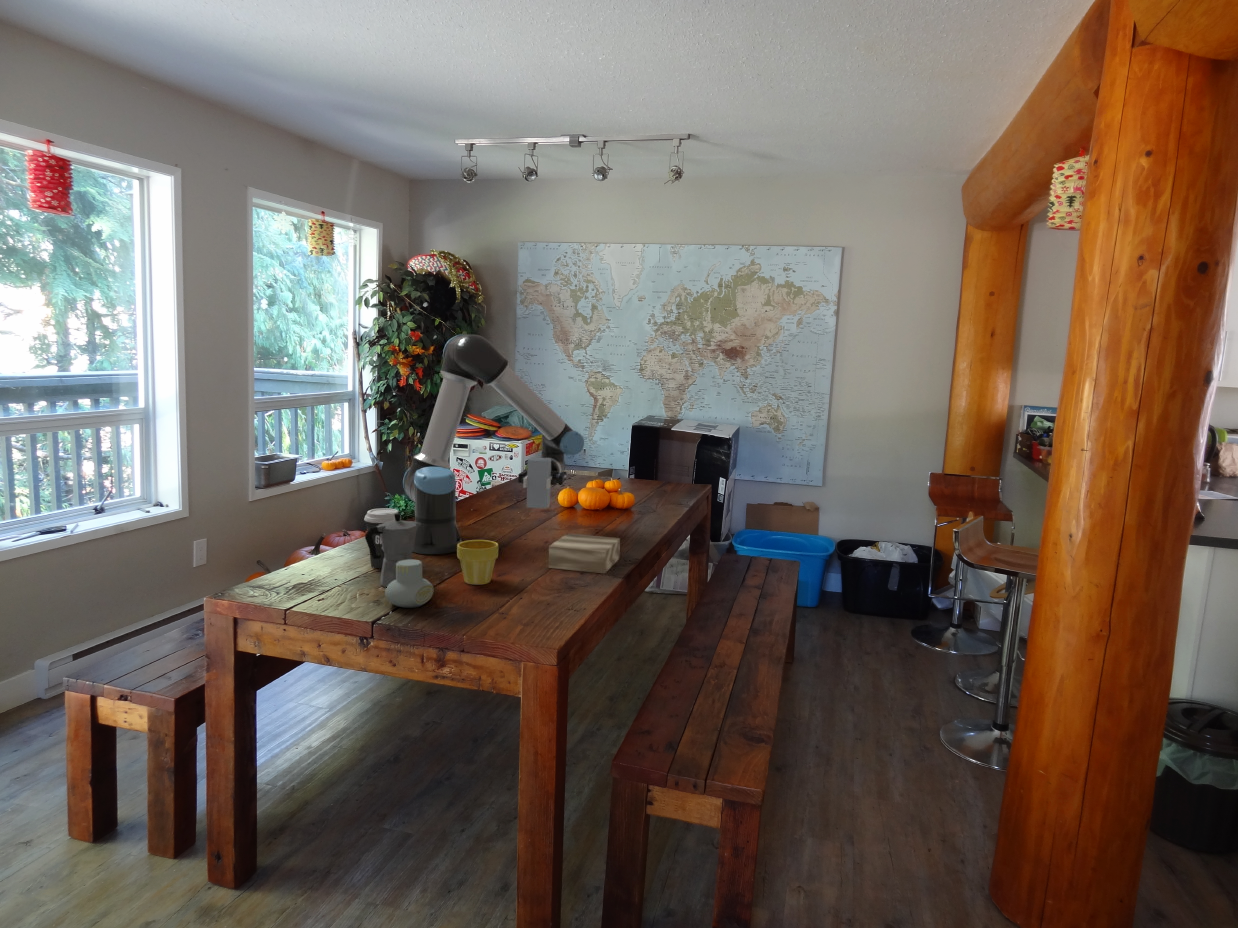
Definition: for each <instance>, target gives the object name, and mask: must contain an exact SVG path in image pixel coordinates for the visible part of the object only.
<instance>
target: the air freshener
mask: <svg viewBox="0 0 1238 928" xmlns="http://www.w3.org/2000/svg"><path fill="white" fill-rule="evenodd" d="M434 589H435V588H434V585H432V583H431V582H430V581H429V580H428V579H426V578H423V563H422V561H421V560H419V559H409V560H402V561H399V562H397V563H396V580H394V581H392V582H391V583H390V584H389V585H388V586H387V588H386V587H385V591H384V596H385V598H386V600H387V601H388V602H389V603H391V604H392V605H393V606H396V607H400V608H408V609H409V608H419V607H422V606H423V605H424V604H426V603H427V602H428V601H429V600H430V599H431V598H432V597H433V594H434Z"/></svg>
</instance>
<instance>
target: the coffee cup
mask: <svg viewBox="0 0 1238 928" xmlns="http://www.w3.org/2000/svg"><path fill="white" fill-rule="evenodd" d="M397 513H399V510H397V509H395V508H388V507H387V508H384V507H383V508H381V507H380V508H373V509H370V510H368V511H367V512H366V514H365V516H364V519H363V520H364V522H366V532H367V531H368V530H369V528H370V527H374V526H379V525H380V524H383V523H386V522H390V521H395V516H394V514H397ZM401 519H402V516H401V517H400V520H401ZM401 521H402V520H401ZM372 538H373V541H374V546H375V548H376V554H377V555H381V558H380V559H373V558H372V555H371V552H370V550H369V560H370V561H369V562H370V567H371V568H373V567H374V568H373V569H377V568H379V569H378V570H380V569H381V570H382V565H383V559H384V551H383V547H382V541H381V535H380V534H373V535H372Z"/></svg>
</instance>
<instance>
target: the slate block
mask: <svg viewBox="0 0 1238 928" xmlns="http://www.w3.org/2000/svg"><path fill="white" fill-rule="evenodd" d="M526 470H527V487H526V508H531V509H548V508H549V506H550V505H551V487H550V488H549V489H546V481H547V479H548V478H549V477H550V476H551V458H541V457H530V458H528V459H527V469H526Z"/></svg>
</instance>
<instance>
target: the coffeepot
mask: <svg viewBox="0 0 1238 928" xmlns="http://www.w3.org/2000/svg"><path fill="white" fill-rule="evenodd" d="M394 516H395V521H390V522H386V523H383V524H380V525H379V526H374V527H370V528H369V530H368V531H367V530H366V532H365V535H364V540H365V542H366V544H367V548H368V549H369V550H370V552H371V555H372V558H373V559H380V558H381V555H377V554H376V548H375V546H374V541H373V538H372V535H373V534H380V535H381V541H382V547H383V551H384V559H383V565H382V569H381V571H380V578H379V579H380V580H379V583H380V586H381V585H382V586H381V587H383V588H386V587H387V586H388V585H389V584H390V583H391V582H392V581H394V580H396V563H397V562H399V561H402V560H409V559H413V552H412V551H413V549H414V542H415V535H416V531H417V529H418V527H419V526H420V525H421V523H419V522H415V521H411V520H408V521H407V520H400V517H401V518H402V514H401V513H399V512H398V513H397V514H394ZM370 552H369V553H370ZM413 560H414V559H413Z"/></svg>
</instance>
